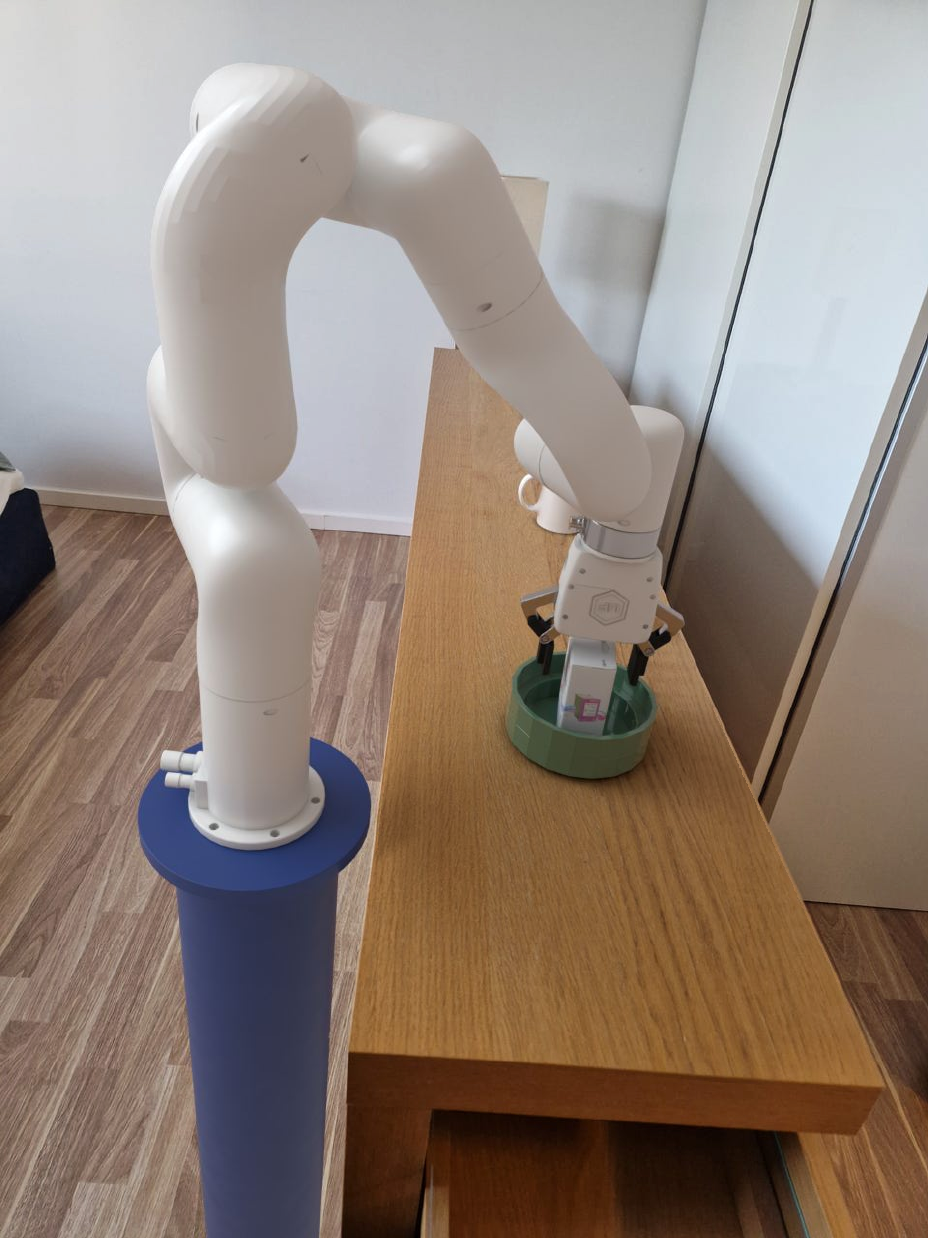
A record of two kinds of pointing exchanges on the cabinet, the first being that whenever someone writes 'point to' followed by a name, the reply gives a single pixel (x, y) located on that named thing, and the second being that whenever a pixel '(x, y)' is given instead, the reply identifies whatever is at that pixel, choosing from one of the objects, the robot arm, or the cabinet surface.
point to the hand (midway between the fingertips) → (587, 673)
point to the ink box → (586, 686)
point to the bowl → (569, 750)
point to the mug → (550, 509)
